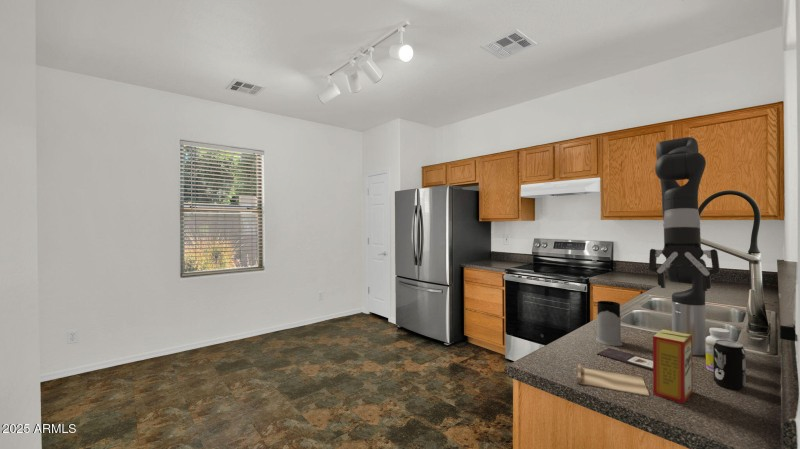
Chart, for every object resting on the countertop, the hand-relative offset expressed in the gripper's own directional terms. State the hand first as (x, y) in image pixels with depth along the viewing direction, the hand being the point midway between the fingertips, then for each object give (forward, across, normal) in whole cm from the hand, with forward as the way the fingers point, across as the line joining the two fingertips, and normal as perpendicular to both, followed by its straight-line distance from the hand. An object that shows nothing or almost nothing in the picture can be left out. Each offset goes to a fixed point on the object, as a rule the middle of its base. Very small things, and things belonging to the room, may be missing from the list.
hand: (683, 289), depth 91 cm
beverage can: (+26, -7, -23) cm, 35 cm away
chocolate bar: (+26, +17, -25) cm, 40 cm away
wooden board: (+28, +18, -3) cm, 33 cm away
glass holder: (+22, +28, -43) cm, 56 cm away
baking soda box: (+28, +4, -7) cm, 29 cm away
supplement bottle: (+25, -5, -33) cm, 42 cm away
